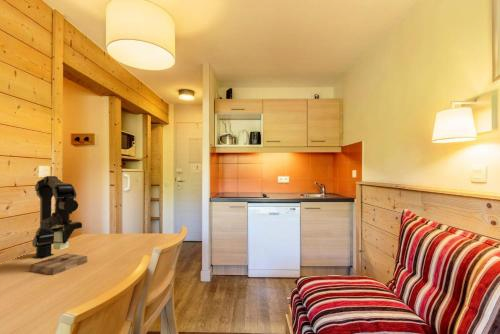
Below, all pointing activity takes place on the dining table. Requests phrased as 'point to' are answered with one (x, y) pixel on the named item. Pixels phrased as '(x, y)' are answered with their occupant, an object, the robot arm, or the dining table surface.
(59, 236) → the peg
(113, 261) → the dining table surface
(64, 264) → the board
